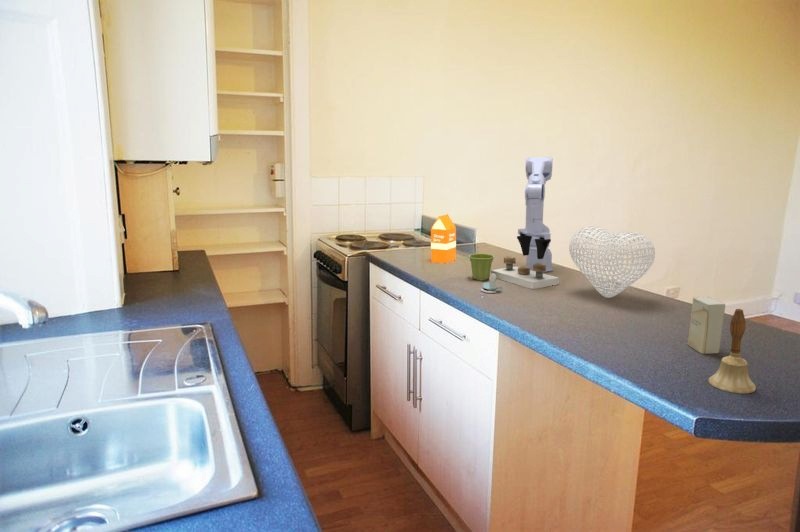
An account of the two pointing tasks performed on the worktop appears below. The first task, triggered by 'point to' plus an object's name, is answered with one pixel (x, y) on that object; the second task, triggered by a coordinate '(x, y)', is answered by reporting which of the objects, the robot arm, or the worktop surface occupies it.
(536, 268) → the knob
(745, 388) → the hand bell
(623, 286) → the heart
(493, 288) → the pacifier
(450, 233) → the orange juice
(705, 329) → the skincare box
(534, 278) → the mount plate
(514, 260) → the knob
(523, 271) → the knob middle
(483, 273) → the plant pot
